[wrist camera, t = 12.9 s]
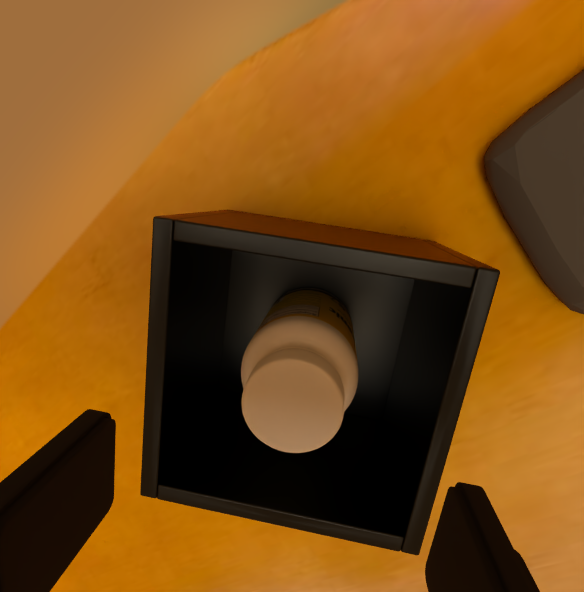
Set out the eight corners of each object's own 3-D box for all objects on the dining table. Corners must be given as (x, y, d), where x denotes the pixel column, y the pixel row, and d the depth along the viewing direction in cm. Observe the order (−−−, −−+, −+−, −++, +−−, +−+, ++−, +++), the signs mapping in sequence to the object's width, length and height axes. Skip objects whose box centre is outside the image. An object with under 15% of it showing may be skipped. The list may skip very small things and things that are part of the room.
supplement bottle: (358, 362, 24) (371, 466, 15) (275, 371, 25) (236, 475, 16) (347, 279, 23) (352, 334, 14) (259, 291, 24) (207, 351, 14)
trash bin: (209, 391, 27) (139, 495, 17) (227, 209, 24) (152, 216, 14) (390, 426, 26) (419, 556, 16) (434, 241, 23) (501, 270, 13)
